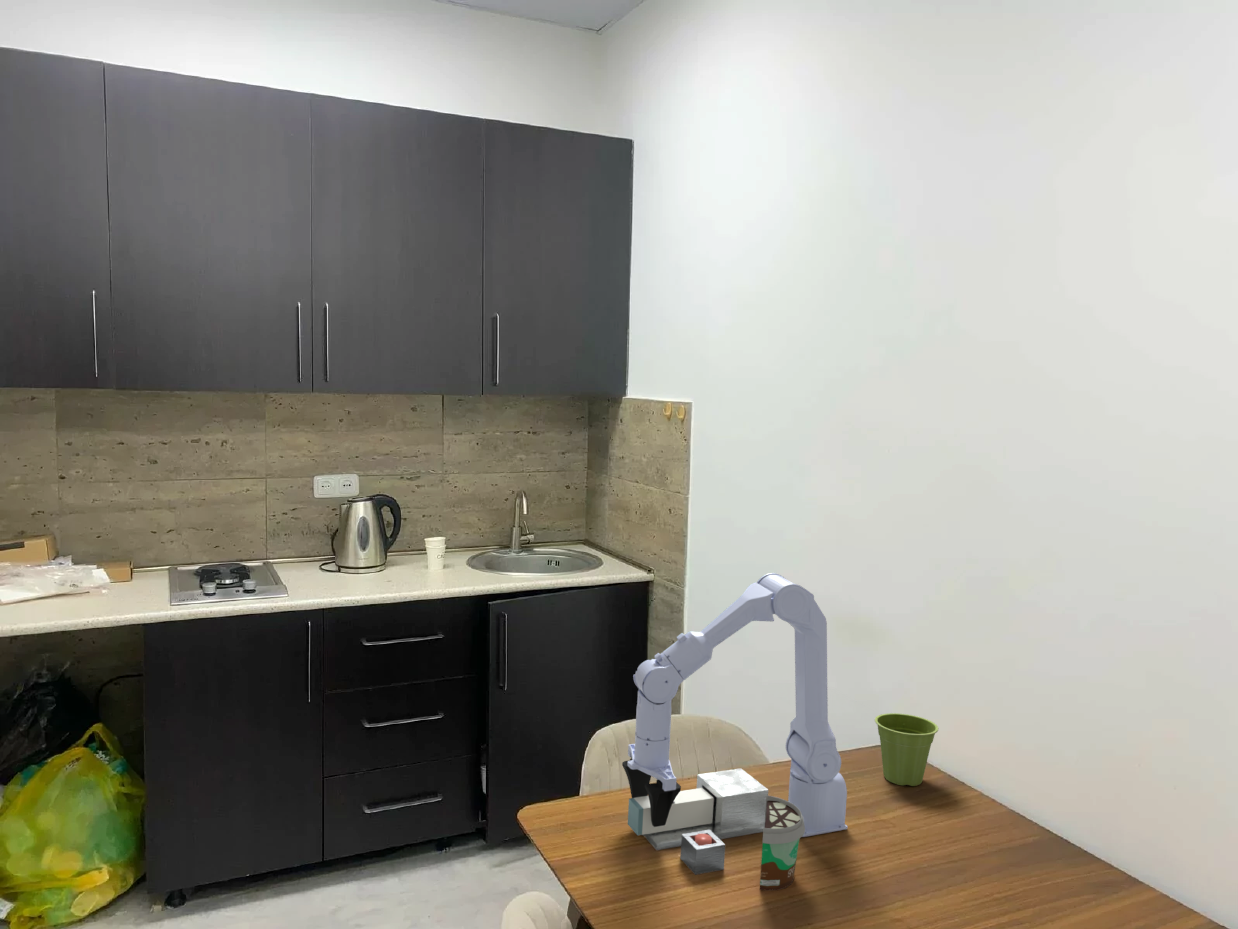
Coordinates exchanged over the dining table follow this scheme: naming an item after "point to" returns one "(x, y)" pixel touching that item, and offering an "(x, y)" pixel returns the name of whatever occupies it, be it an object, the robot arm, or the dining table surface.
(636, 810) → the cartridge
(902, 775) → the plant pot
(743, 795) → the housing
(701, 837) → the plunger
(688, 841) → the plunger collar
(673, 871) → the dining table surface
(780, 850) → the food container
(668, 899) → the dining table surface
